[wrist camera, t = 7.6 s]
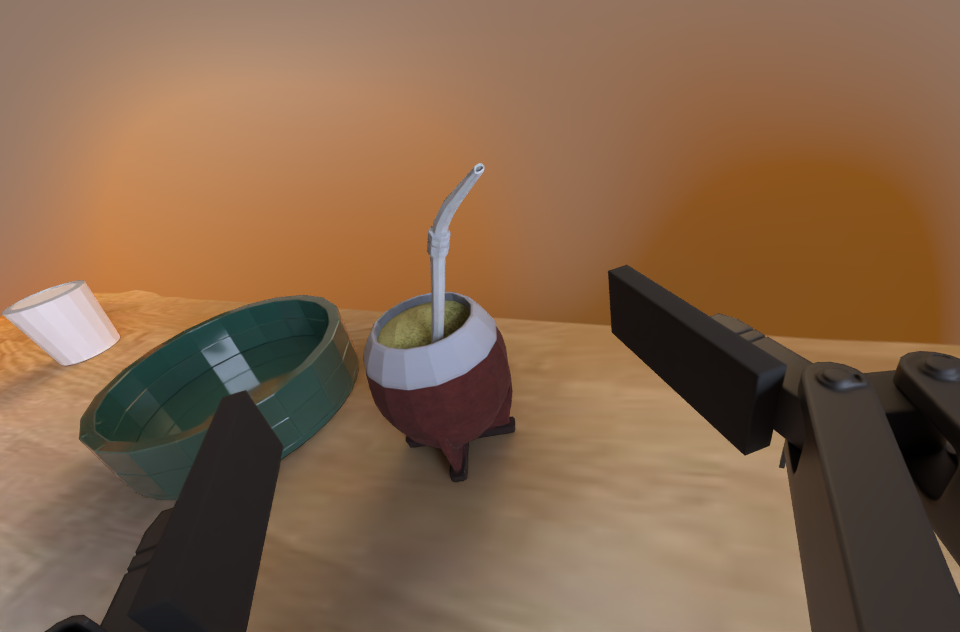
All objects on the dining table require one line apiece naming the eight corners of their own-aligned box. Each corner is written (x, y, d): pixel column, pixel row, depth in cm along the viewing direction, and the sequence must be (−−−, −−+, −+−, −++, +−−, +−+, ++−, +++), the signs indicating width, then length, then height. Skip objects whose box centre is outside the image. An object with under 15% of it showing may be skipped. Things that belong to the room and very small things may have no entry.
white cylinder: (47, 361, 46) (-4, 307, 42) (116, 327, 50) (76, 276, 47) (60, 376, 42) (5, 318, 38) (134, 337, 46) (91, 282, 43)
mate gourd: (411, 401, 27) (316, 167, 19) (531, 382, 26) (482, 129, 19) (390, 505, 21) (237, 219, 13) (547, 484, 20) (483, 164, 12)
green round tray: (64, 491, 27) (13, 448, 25) (239, 339, 40) (216, 302, 38) (272, 510, 22) (231, 458, 20) (392, 330, 35) (375, 287, 33)
